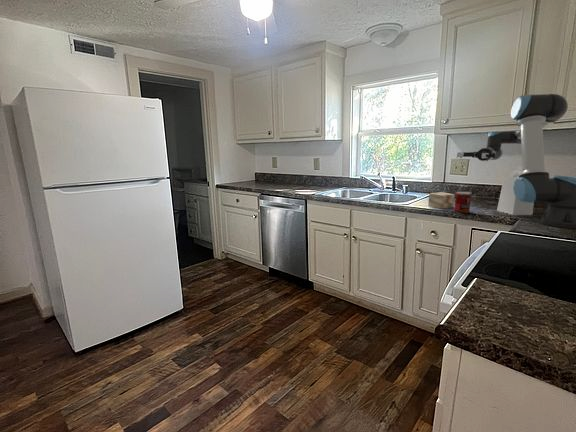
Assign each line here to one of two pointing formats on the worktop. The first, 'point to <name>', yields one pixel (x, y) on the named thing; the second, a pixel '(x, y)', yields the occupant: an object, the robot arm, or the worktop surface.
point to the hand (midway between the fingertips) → (469, 155)
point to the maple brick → (441, 200)
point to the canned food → (462, 202)
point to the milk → (513, 197)
